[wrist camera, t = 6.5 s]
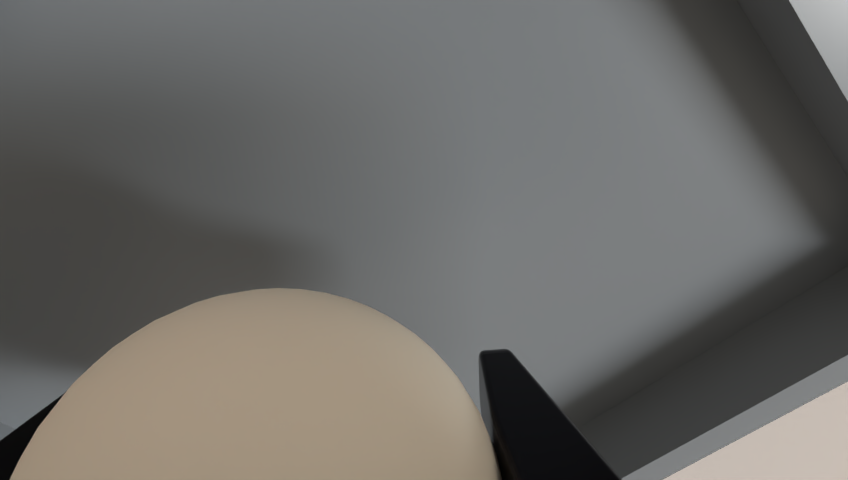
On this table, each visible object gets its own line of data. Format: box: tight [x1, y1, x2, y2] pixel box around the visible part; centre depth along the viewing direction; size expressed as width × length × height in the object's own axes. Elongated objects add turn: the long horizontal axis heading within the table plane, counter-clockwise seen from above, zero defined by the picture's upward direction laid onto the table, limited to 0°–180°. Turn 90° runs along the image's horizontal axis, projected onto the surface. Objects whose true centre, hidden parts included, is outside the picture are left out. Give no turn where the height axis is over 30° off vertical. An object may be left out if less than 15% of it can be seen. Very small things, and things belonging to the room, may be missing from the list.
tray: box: [0, 0, 848, 480], centre depth 10 cm, size 16×14×2 cm
